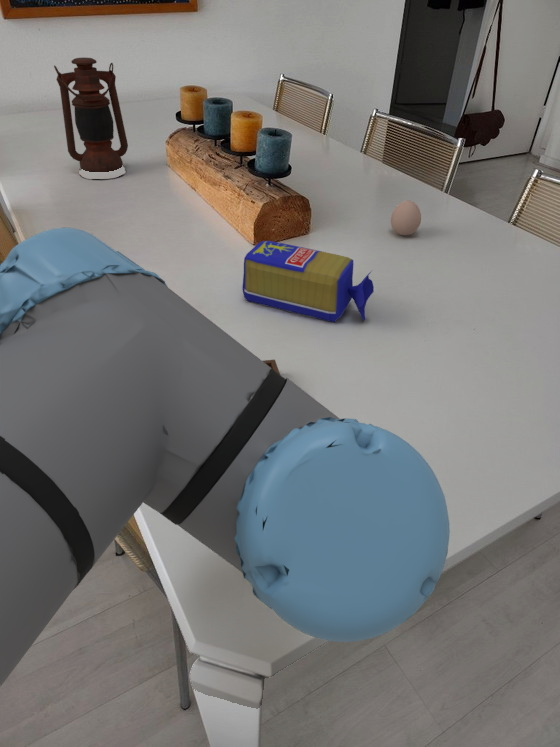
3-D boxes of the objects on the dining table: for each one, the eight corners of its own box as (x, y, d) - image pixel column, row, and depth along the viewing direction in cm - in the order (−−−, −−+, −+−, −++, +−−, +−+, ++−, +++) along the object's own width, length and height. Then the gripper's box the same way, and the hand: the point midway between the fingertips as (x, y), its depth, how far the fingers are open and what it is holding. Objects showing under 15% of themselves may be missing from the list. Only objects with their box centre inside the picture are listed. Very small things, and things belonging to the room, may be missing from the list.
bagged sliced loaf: (259, 280, 113) (259, 233, 107) (375, 307, 106) (382, 258, 99) (237, 302, 106) (236, 253, 99) (360, 333, 98) (367, 282, 92)
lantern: (125, 162, 172) (109, 53, 154) (137, 176, 162) (122, 61, 144) (68, 169, 165) (45, 56, 147) (77, 183, 156) (53, 64, 137)
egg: (420, 241, 131) (427, 207, 126) (390, 240, 131) (396, 206, 126) (415, 229, 137) (421, 196, 131) (386, 228, 137) (391, 195, 131)
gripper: (115, 585, 30) (145, 525, 53) (442, 531, 34) (340, 497, 56) (103, 451, 31) (138, 448, 54) (424, 412, 35) (330, 425, 57)
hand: (241, 473), depth 55 cm, fingers closed on coffee cup, 7 cm apart
